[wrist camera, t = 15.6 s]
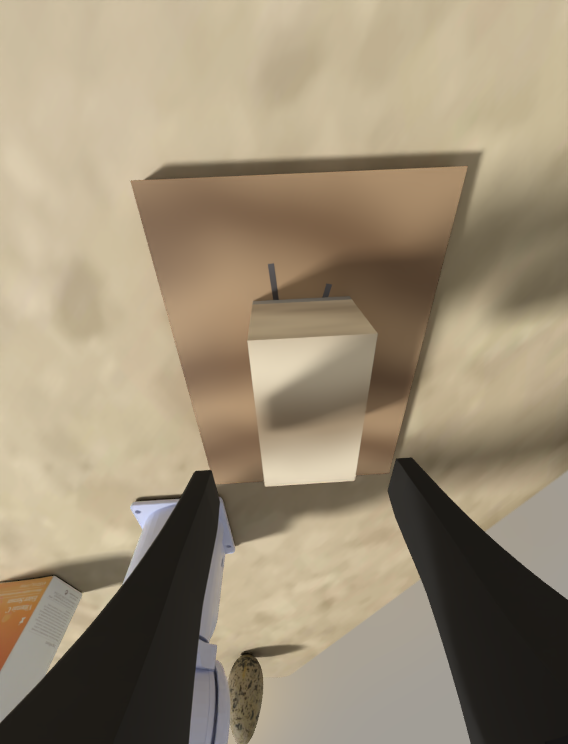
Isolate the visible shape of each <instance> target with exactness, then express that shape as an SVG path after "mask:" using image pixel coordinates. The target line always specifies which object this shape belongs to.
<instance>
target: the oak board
mask: <svg viewBox="0 0 568 744" xmlns="http://www.w3.org/2000/svg"><path fill="white" fill-rule="evenodd" d="M467 168H468V166H457V167H434V168H411V169H388V170H365V171H341V172H318V173H295V174H272V175H249V176H226V177H202V178H179V179H156V180H133V181H131V184H132V188H133V192H134V195H135V199H136V202H137V206H138V210H139V213H140V217H141V221H142V224H143V228H144V232H145V235H146V239H147V242H148V246H149V250H150V253H151V257H152V261H153V264H154V268H155V271H156V275H157V279H158V282H159V286H160V290H161V293H162V297H163V300H164V304H165V308H166V311H167V315H168V319H169V322H170V326H171V329H172V333H173V337H174V340H175V344H176V348H177V351H178V355H179V359H180V362H181V366H182V369H183V373H184V377H185V380H186V384H187V388H188V391H189V395H190V398H191V402H192V406H193V409H194V413H195V417H196V420H197V424H198V427H199V431H200V435H201V438H202V442H203V446H204V449H205V453H206V456H207V460H208V464H209V467H210V470H212V473H213V477H214V481H215V484H229V483H245V482H261V481H264V475H263V467H262V458H261V450H260V442H259V433H258V425H257V417H256V408H255V400H254V392H253V384H252V375H251V367H250V359H249V350H248V342H247V339H248V332H249V325H250V318H251V310H252V303H253V301H266V300H285V299H304V298H324V297H343V296H350V297H351V299H352V300H353V301H354V303H355V304H356V305H357V307H358V308H359V309H360V311H361V312H362V313H363V315H364V316H365V317H366V319H367V320H368V321H369V323H370V324H371V325H372V327H373V328H374V329H375V331H376V332H377V333H378V335H377V341H376V348H375V354H374V360H373V367H372V373H371V380H370V386H369V392H368V399H367V405H366V411H365V418H364V424H363V431H362V437H361V443H360V450H359V456H358V463H357V469H356V475H370V474H386V473H389V471H390V468H391V464H392V460H393V456H394V452H395V448H396V444H397V440H398V436H399V432H400V429H401V425H402V421H403V417H404V413H405V409H406V405H407V401H408V397H409V394H410V390H411V386H412V382H413V378H414V374H415V370H416V366H417V362H418V358H419V355H420V351H421V347H422V343H423V339H424V335H425V331H426V327H427V323H428V320H429V316H430V312H431V308H432V304H433V300H434V296H435V292H436V288H437V284H438V281H439V277H440V273H441V269H442V265H443V261H444V257H445V253H446V249H447V246H448V242H449V238H450V234H451V230H452V226H453V222H454V218H455V214H456V210H457V207H458V203H459V199H460V195H461V191H462V187H463V183H464V179H465V175H466V172H467Z"/></svg>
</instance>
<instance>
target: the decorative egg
mask: <svg viewBox="0 0 568 744" xmlns="http://www.w3.org/2000/svg"><path fill="white" fill-rule="evenodd" d="M228 685H229V691H230V725H231V730H232V733H233V736H234V738H235V740H236V742H237V743H238V744H247V743H248V742H249V741H250V739H251V737H252V736H253V733H254V731H255V728H256V725H257V721H258V717H259V713H260V708H261V702H262V695H263V674H262V670H261V666H260V664H259V662H258V661H257V659H256V658H255V657H254V656H252V655H249V654H245V655H242V656H241V657H240V658H238V659H237V661H236V662H235V663H234V665H233V667H232V669H231V672H230V676H229V681H228Z"/></svg>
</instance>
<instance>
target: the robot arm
mask: <svg viewBox="0 0 568 744" xmlns="http://www.w3.org/2000/svg"><path fill="white" fill-rule="evenodd" d="M388 494H389V498H390V501H391V505H392V508H393V511H394V514H395V518H396V520H397V523H398V525H399V528H400V530H401V532H402V535H403V537H404V540H405V542H406V544H407V547H408V549H409V552H410V554H411V556H412V559H413V561H414V563H415V566H416V568H417V571H418V573H419V575H420V578H421V580H422V583H423V585H424V588H425V591H426V593H427V596H428V599H429V602H430V605H431V608H432V611H433V614H434V617H435V620H436V623H437V627H438V630H439V633H440V636H441V639H442V642H443V646H444V649H445V653H446V655H447V659H448V662H449V666H450V669H451V673H452V676H453V680H454V683H455V687H456V690H457V694H458V697H459V700H460V704H461V708H462V712H463V716H464V719H465V723H466V727H467V731H468V734H469V738H470V742H471V744H568V600H567V599H566V598H565V597H563V596H562V595H560V594H559V593H558V592H557V591H555V590H554V589H553V588H551V587H550V586H549V585H547V584H546V583H544V582H543V581H542V580H541V579H540V578H538V577H537V576H536V575H534V574H533V573H532V572H531V571H530V570H528V569H527V568H526V567H525V566H523V565H522V564H521V563H520V562H518V561H517V560H516V559H515V558H514V557H512V556H511V555H510V554H509V553H508V552H507V551H505V550H504V549H503V548H502V547H501V546H500V545H499V544H497V543H496V542H495V541H494V540H493V539H492V538H491V537H490V536H489V535H488V534H486V533H485V532H484V531H483V530H482V529H481V528H480V527H479V526H478V525H477V524H476V523H475V522H474V521H473V520H472V519H470V518H469V517H468V516H467V515H466V514H465V513H464V512H463V511H462V510H461V509H460V508H459V507H458V506H457V505H456V504H455V503H454V502H453V501H452V500H451V499H450V498H449V497H448V496H447V495H446V494H445V492H444V491H443V490H442V489H441V488H440V487H439V486H438V485H437V484H436V483H435V482H434V481H433V480H432V479H431V478H430V477H429V476H428V474H427V473H426V472H425V471H424V470H423V469H422V468H421V467H420V466H419V465H418V464H417V463H416V462H415V460H414V459H413V458H399V459H396V461H395V465H394V469H393V473H392V476H391V480H390V484H389V487H388ZM130 508H131V510H132V512H133V514H134V515H135V517H136V519H137V521H138V522H139V524H140V526H141V528H142V529H143V530H142V533H141V535H140V538H139V541H138V544H137V546H136V549H135V552H134V554H133V557H132V560H131V563H130V565H129V568H128V571H127V573H126V576H125V579H124V582H123V584H122V586H121V588H120V589H119V590H118V592H117V593H116V594H115V595H114V597H113V598H112V599H111V600H110V602H109V603H108V604H107V605H106V607H105V608H104V609H103V610H102V611H101V613H100V614H99V615H98V616H97V618H96V619H95V620H94V621H93V622H92V624H91V625H90V626H89V627H88V628H87V630H86V631H85V632H84V633H83V634H82V635H81V636H80V638H79V639H78V640H77V641H76V642H75V643H74V644H73V645H72V647H71V648H70V649H69V650H68V651H67V652H66V653H65V654H64V655H63V657H62V658H61V659H60V660H59V661H58V662H57V663H56V664H55V666H54V667H53V668H52V669H51V670H50V671H49V672H48V673H47V674H46V676H45V677H44V678H43V679H42V680H41V681H40V682H39V683H38V684H37V685H36V686H35V687H34V688H33V689H32V690H31V691H30V692H29V693H28V694H27V695H26V697H25V698H24V699H23V700H22V701H21V702H20V703H19V704H18V705H17V706H16V707H15V708H14V709H13V710H12V711H11V712H10V713H9V714H8V715H7V716H6V717H5V718H4V719H3V720H2V721H1V722H0V744H227V743H228V734H229V724H230V691H229V685H228V681H227V677H226V675H225V671H224V668H223V666H222V664H221V663H220V662H219V661H218V660H216V651H217V645H214V644H209V641H210V638H211V637H212V634H213V632H214V630H215V627H216V623H217V618H218V611H219V602H220V594H221V585H222V577H223V568H224V560H225V554H229V553H234V552H235V545H234V541H233V537H232V533H231V530H230V526H229V522H228V518H227V514H226V510H225V507H224V503H223V499H222V498H221V497H219V496H218V492H217V488H216V484H215V481H214V477H213V473H212V470H205V471H195V472H194V473H193V475H192V477H191V479H190V481H189V483H188V485H187V487H186V489H185V490H184V492H183V494H182V496H181V498H180V499H168V500H152V501H137V502H133V503H132V505H131V507H130Z"/></svg>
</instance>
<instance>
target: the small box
mask: <svg viewBox="0 0 568 744" xmlns="http://www.w3.org/2000/svg"><path fill="white" fill-rule="evenodd" d="M81 597H82V593H81V592H79V591H78V590H76V589H74V588H73V587H71V586H70V585H68V584H67V583H65V582H64V581H62V580H61V579H59V578H57V577H56V576H50V577H44V578H38V579H30V580H22V581H13V582H1V583H0V722H1V721H2V720H3V719H4V718H5V717H6V716H7V715H8V714H9V713H10V712H11V711H12V710H13V709H14V708H15V707H16V706H17V705H18V704H19V703H20V702H21V701H22V700H23V699H24V698H25V697H26V695H27V694H28V693H29V692H30V691H31V690H32V689H33V688H34V687H35V686H36V685H37V684H38V683H39V682H40V681H41V680H42V679H43V678H44V677H45V675H46V673H47V671H48V668H49V666H50V664H51V662H52V660H53V657H54V655H55V653H56V651H57V649H58V647H59V644H60V642H61V640H62V638H63V636H64V634H65V632H66V629H67V627H68V625H69V623H70V621H71V619H72V616H73V614H74V612H75V610H76V608H77V606H78V603H79V601H80V599H81Z"/></svg>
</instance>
